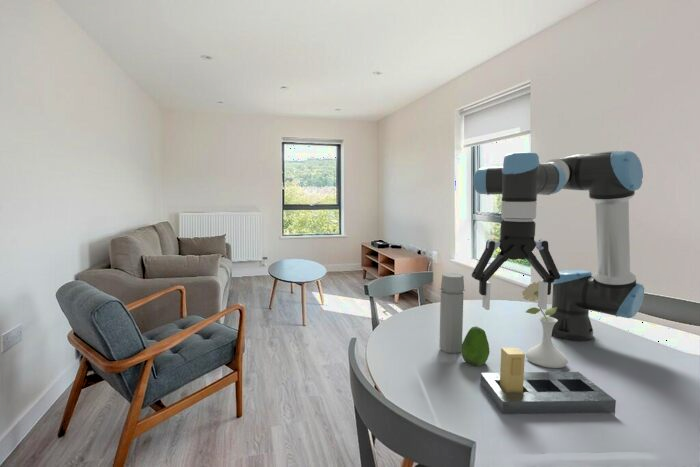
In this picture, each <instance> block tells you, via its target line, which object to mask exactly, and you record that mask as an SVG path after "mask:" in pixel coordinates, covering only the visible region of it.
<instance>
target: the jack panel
mask: <svg viewBox="0 0 700 467" xmlns="http://www.w3.org/2000/svg"><path fill="white" fill-rule="evenodd" d="M480 385H481V387H482V388H483V390H484V391H485V392H486V394H487V395H488V397H489V398H490V400H492V402H493V404H494V405H495V406H496V408H497V409H498V410H499V412H500V413H501V414H502V415H557V414H558V415H562V414H563V415H567V414H568V415H570V414H571V415H572V414H611V415H613V417H616V416H615V415H616V404H617V400H616V399H615V398H613V397H612V396H611V395H609V394H608V393H607V392H606V391H604V390H603V389H602V388H600V387H599V386H598V385H596V384H595V383H594V382H592V380H590V379H589V378H587V377H586V376H585V375H583V373H581V372H579V371H540V372H539V371H536V372H535V371H533V372H532V371H531V372H530V371H529V372H528V371H526V372H525V371H524V382H523V392H503V390H502V389H501V388H500V372H480Z"/></svg>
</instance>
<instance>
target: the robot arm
mask: <svg viewBox="0 0 700 467" xmlns="http://www.w3.org/2000/svg"><path fill="white" fill-rule="evenodd" d="M503 157H504V158H503V164H502V166H501V165H500V166H487V167H480V168H478V169H477V170H476V171H475V173H474V175H473V178H472V180H473V183H472V184H473V188H474V190H475V191H476V193H478V194H480V195H488V196H489V195H501V196H502V197H501V206H500V207H501V209H500V217H501V219H503V220H501V221H500V231H499V232H500V233H499V234H500V235H499V236H500V238H499V240H498V241H496V240H491V239H487V240H486V242H485V249H484V250H483V253H482V254H481V256H480V258H479V260H478V262H477V263H476V265H475V267H474V269H473V271H472V273H471V278H473V279H474V280H477V281H478V282H479V283H478V293H479V294H480V295H481V296H482V301H481V302H482V308H483V309H484V310H486V311H490V308H491V307H490V305H491V304H490V303H491V286H492V285H491V282H490V281H489V280H490V279H491V277H493V275H494V274H495V273H497V271H498V270H499V269H500V268H501V266H502V265H503V264H504V263H505V262H507V261H508V260H511V261H516V260H523V261H524V260H527V262H528V263H530V265H531V266H532V268H533V269H534V270H535V271H536V272H537V274H538V275H539V276H540V278H542V279H543V280H542V279H539V280H538V282H539V291H538V300H537V308H539V309H540V308H541V309H542V311H543V310H545V311H546V310H547V306H548V296H550V295H552V298H551V308H555V307H557V310H556V312H555V313H554V314H552V315H548V317H552V318H555V319H557V320H558V321H557V322H556V323H555V325H554V327H553V330H552V336H553V337H556V338H559V339H563V340H568V341H569V340H570V341H575V342H576V341H577V342H578V341H579V342H581V341H584V342H585V341H589V340H592V339H594V329H593V326H592V323H591V319H590V316H589V314H590V312H589V311H592V312H598V313H601V314H605V315H610V316H615V317H616V318H617V317H619V318H626V319H631V318H634V317H635V316H636V315H637V314H638V312H639V311H640V309H641V306H642V304H643V300H644V296H645V286H644V284H641V283H639V282H638V283H637V276H636V275H635V274H634V273H633V272H631V254H630V251H631V250H630V248H631V246H630V245H631V244H630V207H629V206H630V205H629V201H630V199H632V198H633V197H634V196H635V191H637V190H639V189H640V188H641V186H642V184H643V178H644V171H643V165H642V161H641V159H640V157H639V156H638V155H637V154H636V153H635V152H634V151H630V150H624V151H623V150H620V151H619V150H610V151H601V152H591V153H578V154H573V155H569V156H564V157H560V158H554V159H553V158H552V159H549V160H547V161H545V162H541V163H540V156H539V155H538V153H536V152H532V151H531V152H528V151H527V152H525V151H524V152H512V153H511V152H510V153H507V154H506V155H505V156H503ZM562 190H569V191H571V190H572V191H588V193H589V194H588V196H589V197H588V198H589V199H590V200H592V201H593V202H594V206H595V225H596V226H595V228H596V246H597V249H596V250H597V269H598V270H597V271H596V272H595V273H594V274H592V272H591V271H590V270H585V269H571V270H570V269H567V270H560V271H559V270H558V268H557V265H556V264H555V261H554V259H553V257H552V254H551V252H550V250H549V241H548V240H544V239H539V240H537V241H536V240H535V238H536V237H535V236H536V224H537V223H536V222H535V221H534V220H535V219H536V218H537V204H538V203H537V200H538V199H537V197H538V195H542V196H550V195H554V194H557V193H559V192H560V191H562ZM497 248H499V252H498V254H496V256H495V258H494V260H492V261H491V263H490V264H489V262H490V260H491V258H492V257H493V254H494V252H495V250H497ZM535 248H536V249H537V250H538V251H539V252H538V253H539V254H540V257H541V259H542V261H543V263H544V266H545V267H544V266H543V265H542V264H541V262H540V261H539V260H538V259H537V257H536V255H535V253H533V251H534V249H535ZM551 293H552V294H551Z"/></svg>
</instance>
